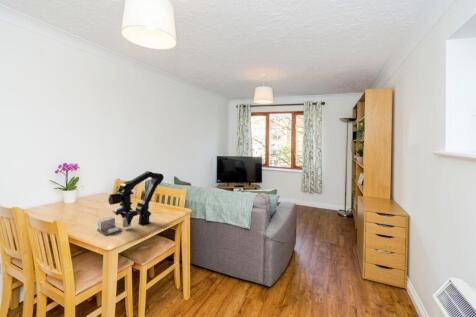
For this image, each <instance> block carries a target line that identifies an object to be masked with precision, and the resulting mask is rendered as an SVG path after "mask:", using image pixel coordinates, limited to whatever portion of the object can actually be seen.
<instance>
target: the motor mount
mask: <svg viewBox="0 0 476 317" xmlns="http://www.w3.org/2000/svg"><path fill="white" fill-rule="evenodd" d="M96 231H97V232H99V233H100V234H101V235H104V236H105V237H107V236H110V235H114V234H116V233H119V232H120V233H121V232H122V231H123V230H122V228H120V227H119V226H116V218H115V217H113V216H108V217H105V218H100V219H97V229H96Z"/></svg>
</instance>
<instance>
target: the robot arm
mask: <svg viewBox="0 0 476 317" xmlns="http://www.w3.org/2000/svg"><path fill="white" fill-rule="evenodd" d="M149 178H151V179H150V185H149V187H148V189H147V190H146V193H145V194H144V197H143V199H142V201H141V202H137V205H135V210H134V209H133V208H132V204H133V202H132V201H131V200H132V199H131V198H132V197H131V195H134V194H135V193H134V192H133V191H132V190H133V189H134V188H135V187H136V186H137V185H139V184H141V183H143V182H144V181H145V180H147V179H149ZM164 179H165V177H164V174H162V173H160V172H152V171H149V170H146V171H145V172H144V173H141V174H140V175H137V176H136V177H135V178H133V179H131V180H127V181H124V182H122V183H120V184H119V187H118V189H117V190H116V192H115V193H110V194H109V197H108V198H107V199H108V201H107V202H108V204H109V206H113V205H116V204H119V206H116V207H115V208H113V209H111V210H112V213H113V214H114V215H115V216H118V215H120V216H121V219H122V220H123V217H126V218H127V222H128V225H129V224H130V223H131V224H132V221H133V218H134V217H136V216H138V223H137V224H138V225H140V226H146V225H150V224H151V223H152V222H151V221H150V217H151V215H152V212H151V211H149V208H150V202H151V200H152V198H153V196H154V194H155V191H156V190H157V187H158V186H159V185H160V184H161V183H162V182H163V180H164Z"/></svg>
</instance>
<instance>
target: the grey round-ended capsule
mask: <svg viewBox="0 0 476 317" xmlns="http://www.w3.org/2000/svg"><path fill="white" fill-rule="evenodd" d="M131 226H132V222H131V223H130V224H129V225H128V222H127V218H126V217H123V219H122V227H123V228H128V227H131Z"/></svg>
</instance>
